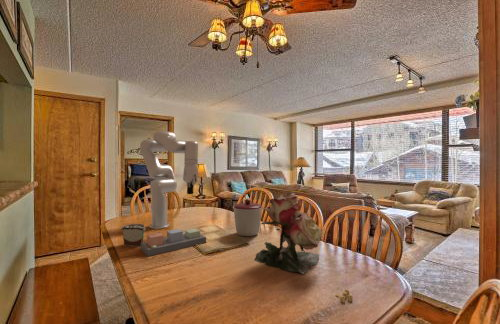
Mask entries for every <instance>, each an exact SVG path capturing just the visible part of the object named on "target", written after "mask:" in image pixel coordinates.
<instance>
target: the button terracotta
mask: <svg viewBox="0 0 500 324" xmlns="http://www.w3.org/2000/svg"><path fill="white" fill-rule="evenodd" d="M163 238H164V235H163V234H162V233H161V232H154V233H149V234H146V242H147V245H148V246H149V247H150V248H151V246H153V245H156V246H160V245H163Z"/></svg>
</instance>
